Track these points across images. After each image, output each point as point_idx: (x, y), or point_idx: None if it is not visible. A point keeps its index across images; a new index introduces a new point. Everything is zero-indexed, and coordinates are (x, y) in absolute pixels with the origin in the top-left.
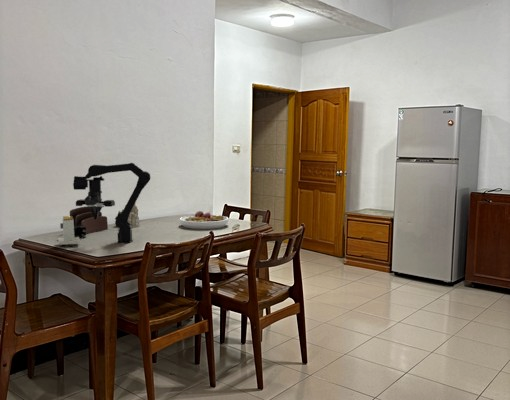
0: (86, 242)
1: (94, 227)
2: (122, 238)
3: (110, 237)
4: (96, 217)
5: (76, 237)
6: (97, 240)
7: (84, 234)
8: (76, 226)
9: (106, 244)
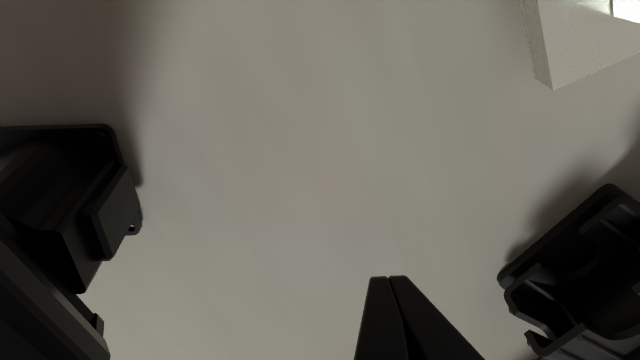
0: (444, 92)
1: None
2: (36, 154)
3: (301, 306)
4: (366, 309)
5: (582, 51)
6: (364, 194)
7: (520, 297)
8: (637, 350)
9: (179, 16)
